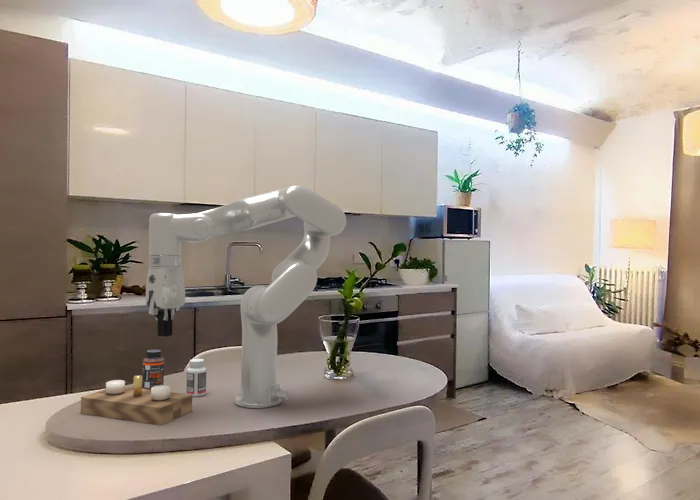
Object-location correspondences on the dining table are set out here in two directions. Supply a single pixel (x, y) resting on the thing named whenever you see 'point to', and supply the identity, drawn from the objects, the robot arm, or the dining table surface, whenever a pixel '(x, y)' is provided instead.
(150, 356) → the supplement bottle
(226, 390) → the dining table surface
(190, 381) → the pill bottle
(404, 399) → the dining table surface
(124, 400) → the mount
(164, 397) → the knob near
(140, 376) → the brass stem
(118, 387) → the knob far
